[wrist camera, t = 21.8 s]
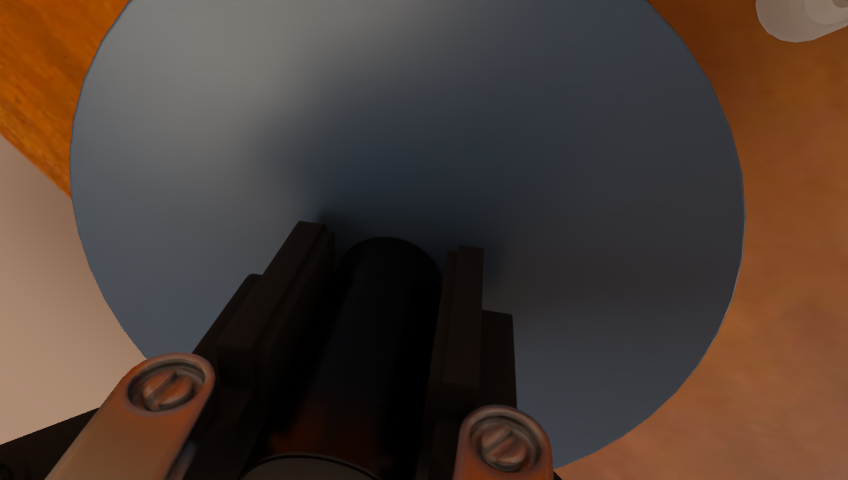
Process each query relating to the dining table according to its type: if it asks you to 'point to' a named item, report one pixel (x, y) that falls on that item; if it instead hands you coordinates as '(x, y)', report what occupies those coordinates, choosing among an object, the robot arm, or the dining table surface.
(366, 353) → the pot lid
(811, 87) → the dining table surface
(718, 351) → the dining table surface
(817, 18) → the chalice
